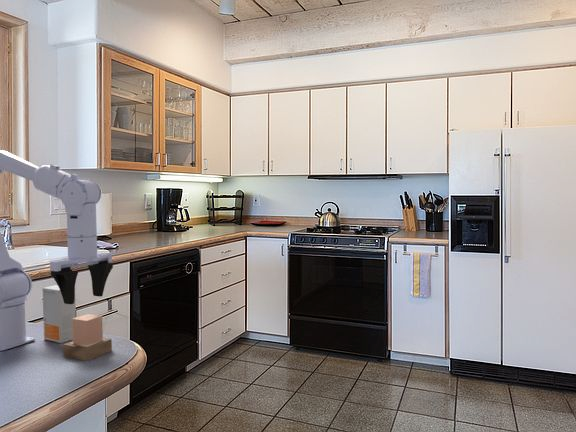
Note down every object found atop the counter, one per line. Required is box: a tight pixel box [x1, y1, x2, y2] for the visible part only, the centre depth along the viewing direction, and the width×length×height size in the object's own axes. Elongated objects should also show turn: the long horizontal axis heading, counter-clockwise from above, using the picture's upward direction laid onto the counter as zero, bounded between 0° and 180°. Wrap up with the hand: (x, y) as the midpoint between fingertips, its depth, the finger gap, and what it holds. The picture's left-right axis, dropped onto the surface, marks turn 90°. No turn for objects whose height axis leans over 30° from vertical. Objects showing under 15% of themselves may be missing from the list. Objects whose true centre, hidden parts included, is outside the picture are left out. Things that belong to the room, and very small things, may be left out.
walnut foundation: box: [62, 337, 113, 362], centre depth 95 cm, size 6×6×3 cm
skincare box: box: [42, 284, 77, 344], centre depth 104 cm, size 6×4×12 cm
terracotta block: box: [72, 313, 104, 345], centre depth 95 cm, size 4×4×5 cm
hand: (84, 299), depth 98 cm, fingers open, 7 cm apart
